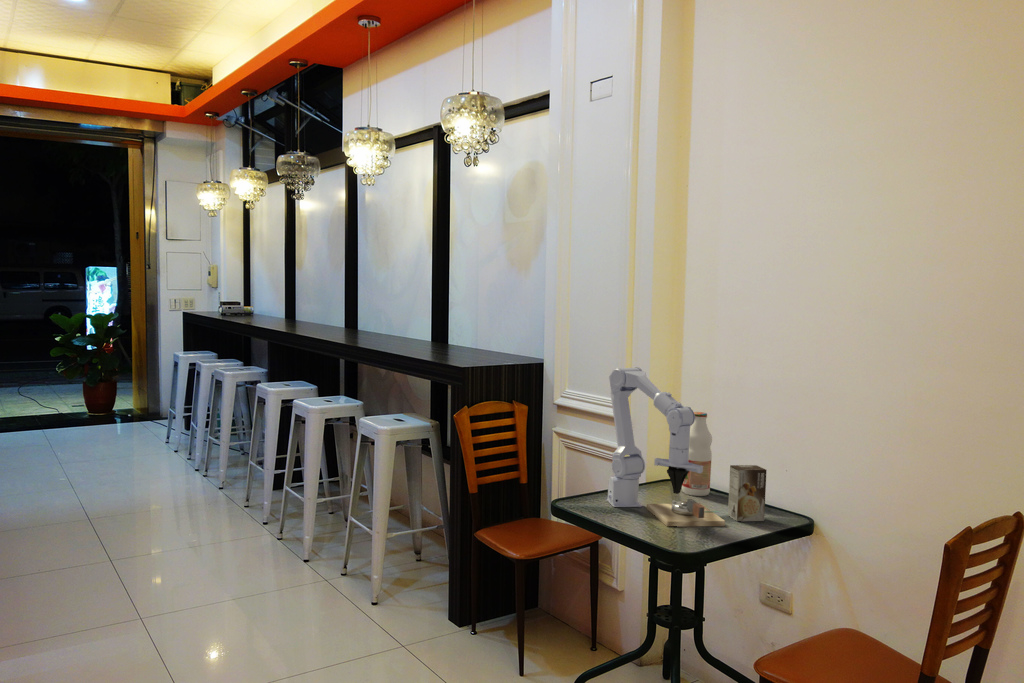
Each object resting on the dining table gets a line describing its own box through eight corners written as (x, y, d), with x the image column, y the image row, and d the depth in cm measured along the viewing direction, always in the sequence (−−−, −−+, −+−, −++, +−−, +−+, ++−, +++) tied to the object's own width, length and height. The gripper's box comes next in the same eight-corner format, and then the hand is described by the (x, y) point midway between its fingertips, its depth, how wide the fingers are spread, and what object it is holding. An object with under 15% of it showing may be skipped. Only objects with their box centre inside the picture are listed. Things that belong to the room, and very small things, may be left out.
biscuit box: (754, 515, 226) (757, 464, 225) (764, 521, 220) (767, 469, 219) (726, 515, 225) (729, 464, 224) (736, 522, 219) (739, 469, 218)
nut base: (667, 526, 211) (667, 521, 211) (646, 508, 229) (646, 503, 229) (731, 525, 214) (731, 520, 214) (706, 508, 232) (706, 503, 232)
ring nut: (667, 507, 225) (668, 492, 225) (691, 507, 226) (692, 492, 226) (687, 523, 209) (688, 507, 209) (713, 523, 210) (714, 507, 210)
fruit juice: (701, 498, 244) (706, 416, 242) (676, 492, 250) (680, 412, 248) (714, 493, 251) (718, 413, 249) (689, 487, 257) (694, 409, 255)
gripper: (650, 445, 216) (648, 490, 216) (697, 453, 207) (694, 500, 208) (660, 442, 221) (658, 486, 222) (706, 449, 213) (704, 495, 214)
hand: (676, 492), depth 215 cm, fingers closed
